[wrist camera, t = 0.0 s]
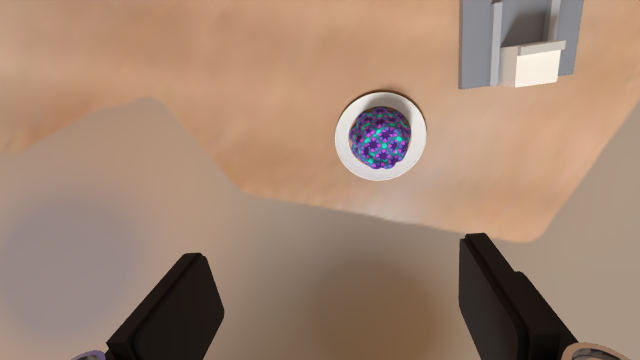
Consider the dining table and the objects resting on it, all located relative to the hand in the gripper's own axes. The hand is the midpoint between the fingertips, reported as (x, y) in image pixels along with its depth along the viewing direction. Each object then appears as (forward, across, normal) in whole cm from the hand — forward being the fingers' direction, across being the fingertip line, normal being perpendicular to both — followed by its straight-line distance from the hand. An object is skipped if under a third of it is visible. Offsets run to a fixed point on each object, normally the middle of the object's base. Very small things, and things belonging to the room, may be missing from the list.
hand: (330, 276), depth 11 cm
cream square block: (+30, -20, -4) cm, 36 cm away
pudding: (+32, -4, +3) cm, 32 cm away
